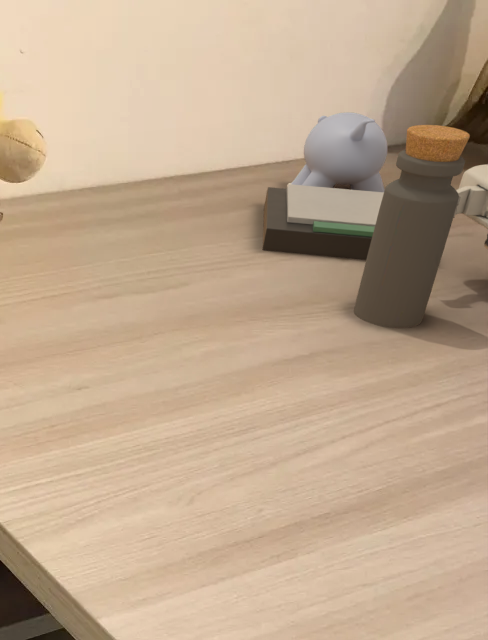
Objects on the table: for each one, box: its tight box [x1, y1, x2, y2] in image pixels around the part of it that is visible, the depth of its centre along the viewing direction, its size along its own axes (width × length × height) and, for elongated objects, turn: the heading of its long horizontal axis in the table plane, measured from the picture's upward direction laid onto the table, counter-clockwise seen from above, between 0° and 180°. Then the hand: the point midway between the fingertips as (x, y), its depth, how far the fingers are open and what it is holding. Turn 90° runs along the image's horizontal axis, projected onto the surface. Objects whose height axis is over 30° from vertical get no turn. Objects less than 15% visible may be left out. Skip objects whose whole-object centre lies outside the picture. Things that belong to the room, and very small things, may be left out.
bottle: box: [353, 124, 471, 329], centre depth 86 cm, size 6×6×15 cm
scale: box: [261, 183, 384, 261], centre depth 107 cm, size 16×15×3 cm
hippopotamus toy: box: [288, 111, 388, 192], centre depth 117 cm, size 11×15×10 cm
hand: (461, 222), depth 86 cm, fingers open, 8 cm apart
